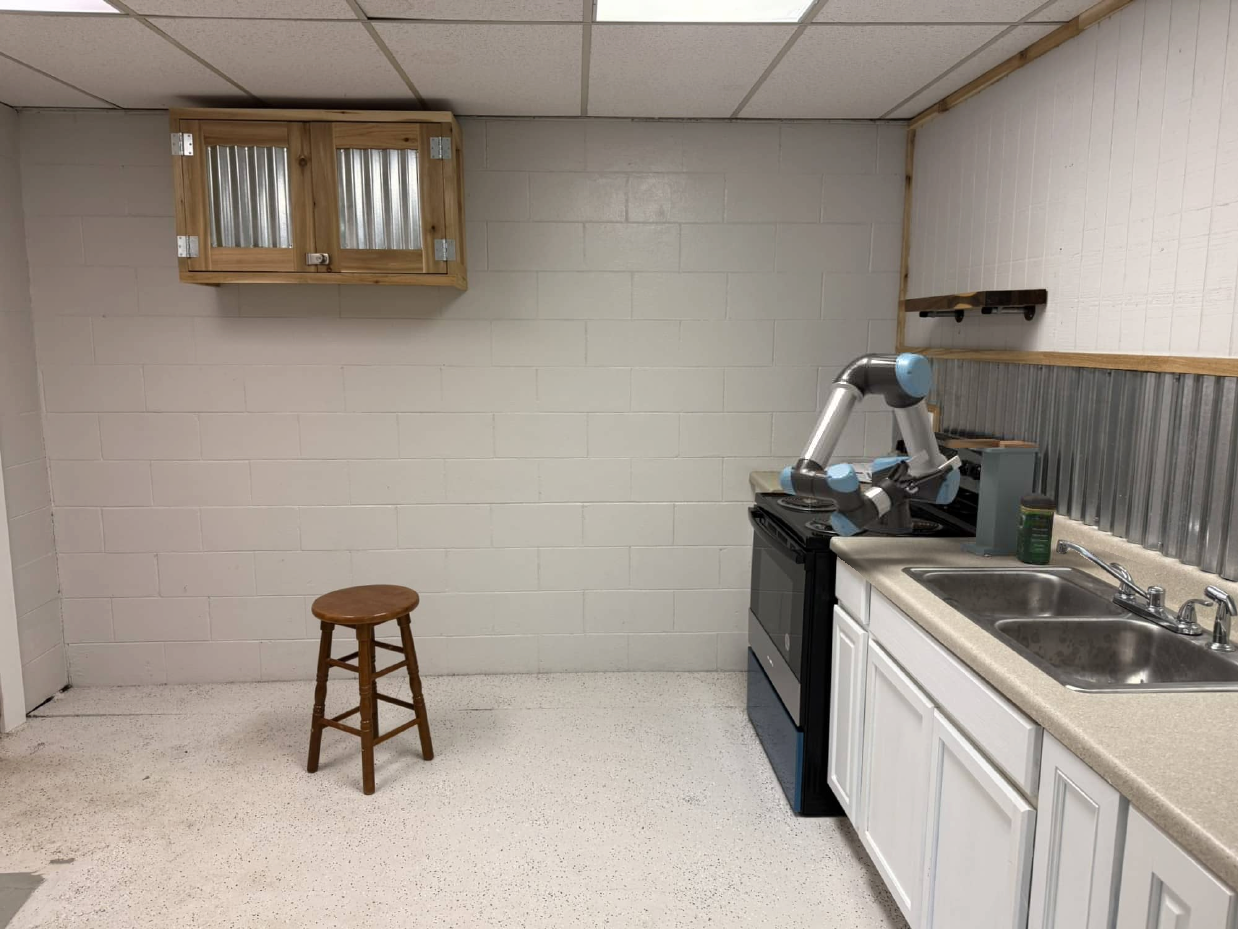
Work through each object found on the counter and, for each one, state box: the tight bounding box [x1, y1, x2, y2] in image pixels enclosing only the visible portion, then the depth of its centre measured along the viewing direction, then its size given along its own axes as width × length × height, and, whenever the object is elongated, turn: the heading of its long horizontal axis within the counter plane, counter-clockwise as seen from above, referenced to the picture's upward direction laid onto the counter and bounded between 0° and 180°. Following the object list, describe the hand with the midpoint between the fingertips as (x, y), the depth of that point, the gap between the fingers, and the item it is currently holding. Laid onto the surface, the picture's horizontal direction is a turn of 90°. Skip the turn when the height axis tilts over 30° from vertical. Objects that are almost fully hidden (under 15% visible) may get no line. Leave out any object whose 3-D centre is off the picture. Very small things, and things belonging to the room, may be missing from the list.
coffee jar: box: [1015, 492, 1056, 565], centre depth 231 cm, size 10×8×19 cm
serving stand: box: [960, 447, 1040, 557], centre depth 241 cm, size 9×16×30 cm, turn 108°
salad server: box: [944, 438, 1038, 449], centre depth 238 cm, size 8×26×2 cm, turn 108°
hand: (942, 456), depth 233 cm, fingers open, 13 cm apart
